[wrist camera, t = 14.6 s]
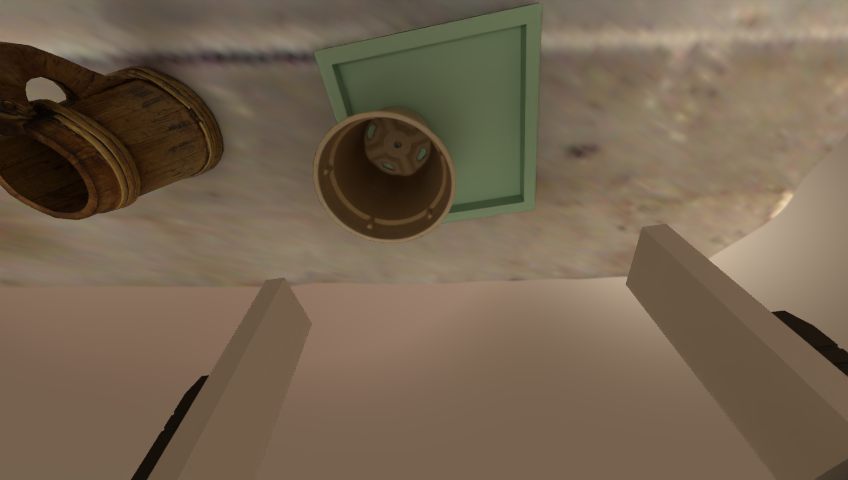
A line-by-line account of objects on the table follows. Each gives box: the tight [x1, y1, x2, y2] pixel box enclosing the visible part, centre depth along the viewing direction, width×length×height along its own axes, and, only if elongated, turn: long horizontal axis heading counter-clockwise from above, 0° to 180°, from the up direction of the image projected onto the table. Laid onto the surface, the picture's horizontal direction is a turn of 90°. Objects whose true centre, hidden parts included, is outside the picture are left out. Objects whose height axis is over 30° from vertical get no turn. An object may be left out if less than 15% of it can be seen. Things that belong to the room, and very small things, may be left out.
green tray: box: [314, 3, 542, 224], centre depth 27 cm, size 16×16×2 cm
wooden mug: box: [0, 42, 223, 220], centre depth 19 cm, size 9×14×18 cm, turn 173°
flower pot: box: [313, 106, 456, 243], centre depth 24 cm, size 9×9×9 cm
